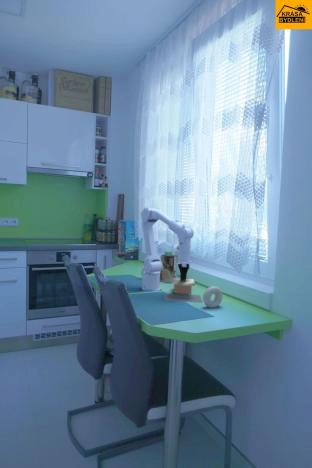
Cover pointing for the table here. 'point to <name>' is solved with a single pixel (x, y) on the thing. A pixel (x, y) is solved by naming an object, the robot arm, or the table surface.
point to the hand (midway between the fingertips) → (183, 278)
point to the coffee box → (168, 268)
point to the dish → (182, 289)
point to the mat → (182, 298)
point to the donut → (216, 300)
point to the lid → (182, 281)
